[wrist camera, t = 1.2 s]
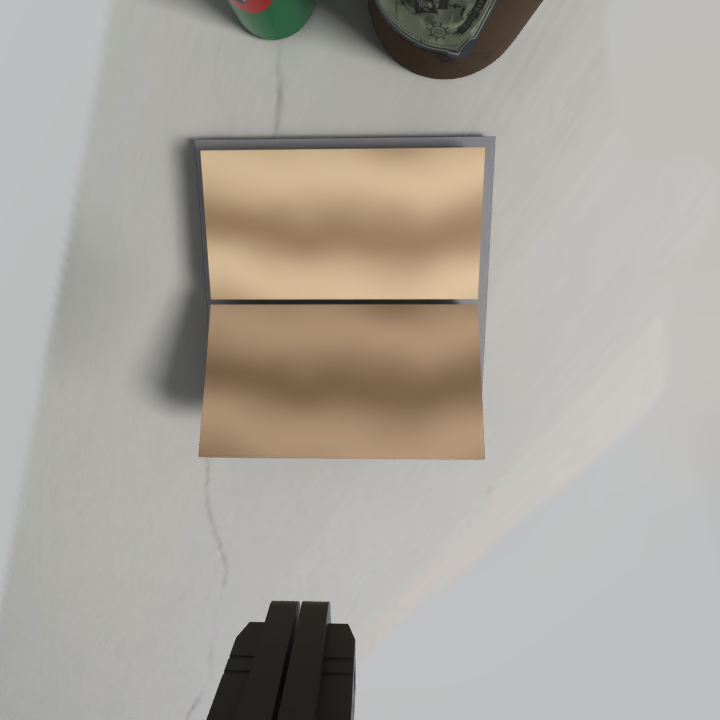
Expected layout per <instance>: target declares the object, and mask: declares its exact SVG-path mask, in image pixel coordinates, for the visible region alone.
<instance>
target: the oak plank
mask: <svg viewBox="0 0 720 720" xmlns="http://www.w3.org/2000/svg"><path fill="white" fill-rule="evenodd" d="M484 161H485V147H477V148H388V149H298V150H209V151H201V166H202V180H203V194H204V208H205V222H206V236H207V250H208V264H209V278H210V292H211V299H478V284H479V264H480V243H481V223H482V202H483V182H484Z"/></svg>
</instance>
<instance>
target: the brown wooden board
mask: <svg viewBox="0 0 720 720" xmlns="http://www.w3.org/2000/svg"><path fill="white" fill-rule="evenodd" d="M198 457H221V458H327V459H433V460H484V459H485V448H484V427H483V405H482V383H481V361H480V340H479V318H478V304H348V305H211V308H210V321H209V333H208V345H207V358H206V370H205V382H204V394H203V407H202V419H201V431H200V444H199V456H198Z"/></svg>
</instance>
